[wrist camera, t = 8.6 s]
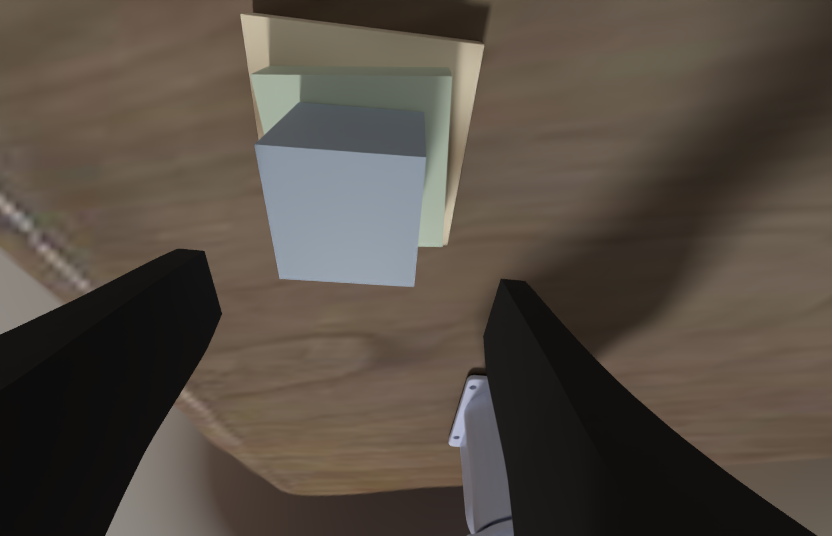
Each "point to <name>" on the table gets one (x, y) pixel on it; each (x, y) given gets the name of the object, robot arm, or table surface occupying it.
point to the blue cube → (344, 193)
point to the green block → (373, 90)
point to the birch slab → (371, 47)
